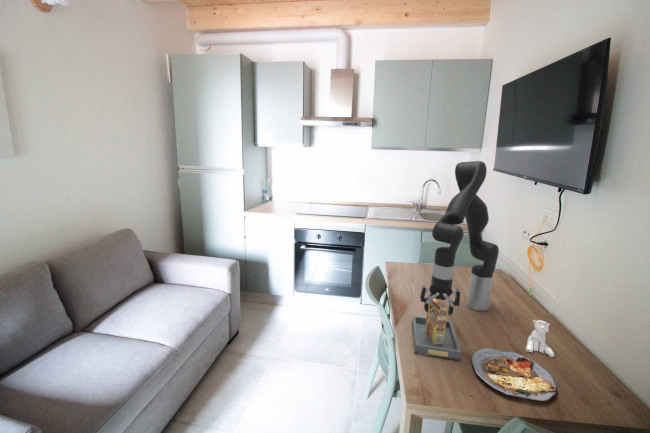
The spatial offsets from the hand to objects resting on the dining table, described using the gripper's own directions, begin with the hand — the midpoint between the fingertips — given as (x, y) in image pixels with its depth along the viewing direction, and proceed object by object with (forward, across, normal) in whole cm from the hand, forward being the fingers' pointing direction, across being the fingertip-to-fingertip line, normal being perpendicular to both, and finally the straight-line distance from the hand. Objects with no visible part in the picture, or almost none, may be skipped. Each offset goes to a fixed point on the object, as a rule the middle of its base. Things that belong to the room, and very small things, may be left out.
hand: (437, 312), depth 121 cm
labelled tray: (+12, 0, 0) cm, 12 cm away
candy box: (+12, 0, 0) cm, 12 cm away
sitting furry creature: (+13, -39, -5) cm, 41 cm away
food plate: (+13, -24, +14) cm, 30 cm away
